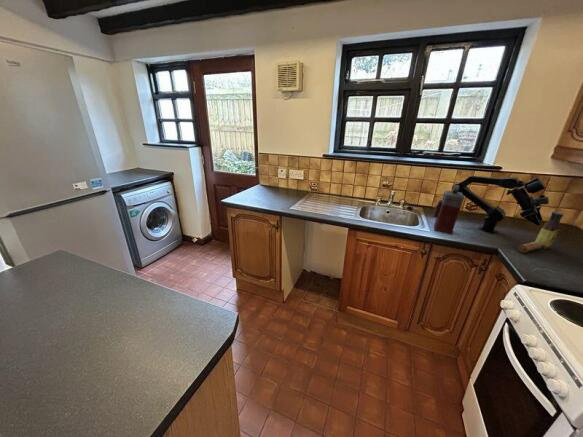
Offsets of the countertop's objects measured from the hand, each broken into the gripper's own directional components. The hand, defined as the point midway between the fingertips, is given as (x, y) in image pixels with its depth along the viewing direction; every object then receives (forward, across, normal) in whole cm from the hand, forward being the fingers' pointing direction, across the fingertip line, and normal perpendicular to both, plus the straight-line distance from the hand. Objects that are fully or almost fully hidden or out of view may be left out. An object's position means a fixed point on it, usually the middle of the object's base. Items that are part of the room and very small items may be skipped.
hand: (540, 222), depth 130 cm
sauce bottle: (+12, 0, +6) cm, 14 cm away
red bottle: (-18, -23, +36) cm, 47 cm away
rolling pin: (+9, -11, +8) cm, 17 cm away
